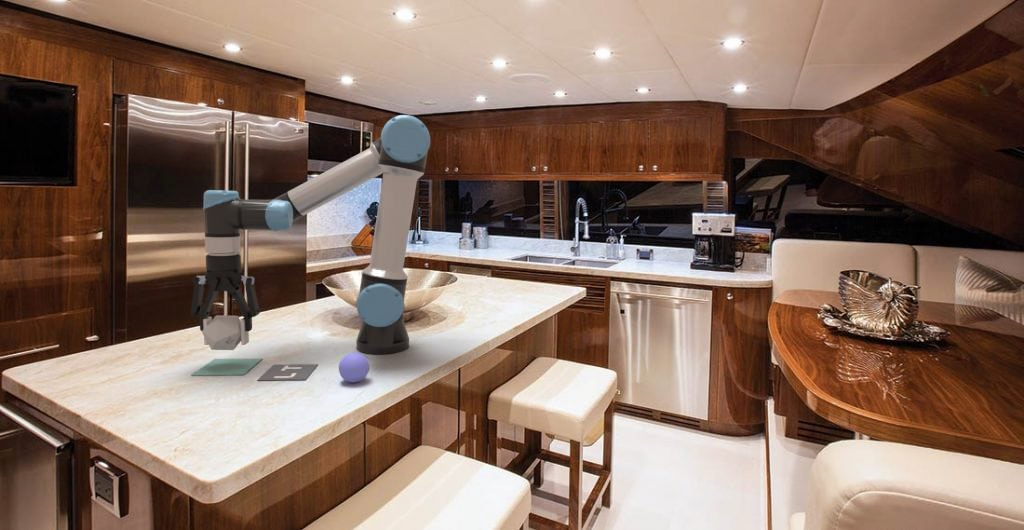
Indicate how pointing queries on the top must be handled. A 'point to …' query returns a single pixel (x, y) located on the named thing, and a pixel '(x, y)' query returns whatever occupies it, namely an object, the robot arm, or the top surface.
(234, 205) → the robot arm
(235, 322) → the die
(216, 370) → the mat
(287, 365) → the tile
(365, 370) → the sphere
